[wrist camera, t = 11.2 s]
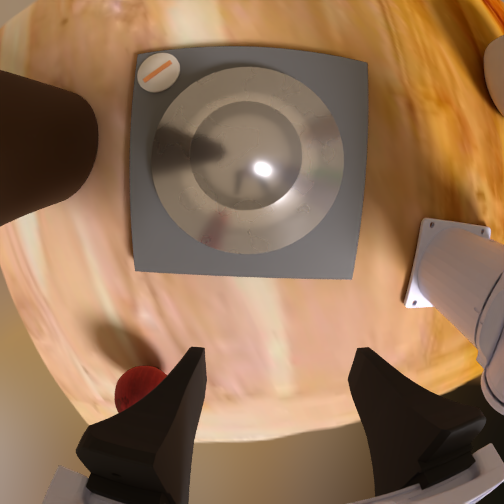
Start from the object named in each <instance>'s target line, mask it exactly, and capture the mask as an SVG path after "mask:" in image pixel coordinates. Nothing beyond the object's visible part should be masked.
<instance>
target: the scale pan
mask: <svg viewBox="0 0 504 504" xmlns="http://www.w3.org/2000/svg"><path fill="white" fill-rule="evenodd" d="M240 101H253V102H259V103H263V104H266V105H268V106H271V107H273V108H274V109H276V110H278V111H279V112H281V113H282V114H283V115H284V116H285V117H286V118H287V119H288V120H289V121H290V122H291V123H292V125H293V126H294V128H295V130H296V131H297V134H298V136H299V138H300V142H301V146H302V164H301V169H300V173H299V175H298V177H297V180H296V181H295V183H294V185H293V186H292V188H291V189H290V190H289V191H288V192H287V193H286V194H285V195H284V196H283V197H282V198H281V199H279V200H278V201H276V202H275V203H273V204H271V205H269V206H266V207H264V208H260V209H255V210H236V209H232V208H228V207H225V206H223V205H221V204H219V203H217V202H215V201H214V200H212V199H211V198H210V197H209V196H207V195H206V194H205V193H204V192H203V190H202V189H201V188H200V187H199V185H198V183H197V182H196V180H195V178H194V175H193V172H192V169H191V164H190V147H191V143H192V139H193V137H194V134H195V132H196V130H197V128H198V127H199V125H200V124H201V123H202V121H203V120H204V119H205V118H206V117H207V116H208V115H209V114H211V113H212V112H213V111H215V110H216V109H218V108H220V107H222V106H224V105H227V104H230V103H234V102H240ZM151 166H152V175H153V181H154V185H155V188H156V191H157V194H158V196H159V199H160V201H161V203H162V205H163V207H164V208H165V210H166V211H167V213H168V214H169V216H170V217H171V218H172V219H173V221H174V222H175V223H176V224H177V225H178V226H179V227H180V228H181V229H182V230H183V231H185V232H186V233H187V234H188V235H190V236H191V237H193V238H194V239H195V240H197V241H199V242H201V243H203V244H205V245H207V246H209V247H212V248H214V249H217V250H220V251H225V252H229V253H236V254H259V253H266V252H270V251H274V250H278V249H281V248H283V247H285V246H288V245H290V244H292V243H294V242H296V241H297V240H299V239H301V238H302V237H304V236H305V235H306V234H308V233H309V232H310V231H312V230H313V229H314V228H315V227H316V226H317V225H318V224H319V223H320V222H321V220H322V219H323V218H324V217H325V215H326V214H327V213H328V211H329V210H330V208H331V206H332V204H333V203H334V201H335V198H336V196H337V194H338V191H339V188H340V185H341V181H342V176H343V169H344V152H343V145H342V140H341V136H340V132H339V129H338V127H337V125H336V122H335V120H334V118H333V116H332V114H331V113H330V111H329V110H328V108H327V107H326V105H325V104H324V103H323V102H322V100H321V99H320V98H319V97H318V96H317V95H316V94H315V93H314V92H313V91H312V90H311V89H309V88H308V87H307V86H305V85H304V84H303V83H301V82H300V81H298V80H296V79H294V78H292V77H290V76H288V75H286V74H283V73H281V72H278V71H274V70H270V69H266V68H259V67H236V68H230V69H225V70H221V71H218V72H215V73H212V74H210V75H208V76H205V77H203V78H201V79H200V80H198V81H196V82H195V83H193V84H191V85H190V86H189V87H188V88H186V89H185V90H184V91H183V92H181V93H180V94H179V96H178V97H177V98H176V99H175V100H174V101H173V102H172V103H171V105H170V106H169V107H168V109H167V110H166V112H165V113H164V115H163V117H162V119H161V121H160V123H159V125H158V128H157V131H156V133H155V137H154V141H153V146H152V155H151Z"/></svg>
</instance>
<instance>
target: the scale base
mask: <svg viewBox="0 0 504 504" xmlns="http://www.w3.org/2000/svg"><path fill="white" fill-rule="evenodd" d="M236 67H259V68H266V69H270V70H274V71H278V72H281V73H283V74H286V75H288V76H290V77H292V78H294V79H296V80H298V81H300V82H301V83H303V84H304V85H305V86H307V87H308V88H309V89H311V90H312V91H313V92H314V93H315V94H316V95H317V96H318V97H319V98H320V99H321V100H322V102H323V103H324V104H325V105H326V107H327V108H328V110H329V111H330V113H331V114H332V116H333V118H334V120H335V122H336V125H337V127H338V129H339V132H340V136H341V140H342V145H343V152H344V169H343V176H342V181H341V185H340V188H339V191H338V194H337V196H336V198H335V201H334V203H333V204H332V206H331V208H330V210H329V211H328V213H327V214H326V215H325V217H324V218H323V219H322V220H321V222H320V223H319V224H318V225H317V226H316V227H315V228H314V229H313V230H312V231H310V232H309V233H308V234H306V235H305V236H304V237H302V238H301V239H299V240H297V241H296V242H294V243H292V244H290V245H288V246H285V247H283V248H281V249H278V250H274V251H270V252H266V253H259V254H236V253H229V252H225V251H220V250H217V249H214V248H212V247H209V246H207V245H205V244H203V243H201V242H199V241H197V240H195V239H194V238H193V237H191V236H190V235H188V234H187V233H186V232H185V231H183V230H182V229H181V228H180V227H179V226H178V225H177V224H176V223H175V222H174V221H173V219H172V218H171V217H170V216H169V214H168V213H167V211H166V210H165V208H164V207H163V205H162V203H161V201H160V199H159V196H158V194H157V191H156V188H155V185H154V181H153V175H152V166H151V155H152V146H153V141H154V137H155V133H156V131H157V128H158V125H159V123H160V121H161V119H162V117H163V115H164V113H165V112H166V110H167V109H168V107H169V106H170V105H171V103H172V102H173V101H174V100H175V99H176V98H177V97H178V96H179V94H180V93H181V92H183V91H184V90H185V89H186V88H188V87H189V86H190V85H191V84H193V83H195V82H196V81H198V80H200V79H201V78H203V77H205V76H208V75H210V74H212V73H215V72H218V71H221V70H225V69H230V68H236ZM367 143H368V64H367V63H366V62H362V61H358V60H353V59H349V58H344V57H339V56H334V55H328V54H322V53H316V52H309V51H301V50H292V49H282V48H269V47H247V46H217V47H196V48H183V49H172V50H164V51H156V52H149V53H143V54H138V58H137V65H136V73H135V81H134V91H133V101H132V115H131V132H130V211H131V229H132V243H133V254H134V265H135V271H141V272H157V273H174V274H193V275H214V276H237V277H265V278H299V279H352V276H353V271H354V265H355V259H356V252H357V246H358V239H359V232H360V224H361V216H362V207H363V198H364V187H365V175H366V161H367Z"/></svg>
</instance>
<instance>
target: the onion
mask: <svg viewBox="0 0 504 504" xmlns="http://www.w3.org/2000/svg"><path fill="white" fill-rule="evenodd" d="M166 376H167V375H166V374H165V373H164V372H163V371H161V370H159V369H157V368H156V367H152V366H138V367H134V368H132V369H130V370H128V371H127V372H125V373H124V374H123V375H122V376H121V377H120V379H119V380H118V382H117V385H116V389H115V405H116V408H117V411H118V412H119V413H120V412H122V411H124V410H125V409H127V408H129V407H130V406H132V405H133V404H135V403H136V402H138V401H139V400H141V399H142V398H143V397H145V396H146V395H147V394H148V393H150V392H151V391H152V390H153V389H154V388H155V387H156V386H157V385H158V384H159V383H160V382H161V381H162V380H163V379H164V378H165V377H166Z"/></svg>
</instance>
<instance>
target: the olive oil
mask: <svg viewBox="0 0 504 504" xmlns="http://www.w3.org/2000/svg"><path fill="white" fill-rule="evenodd" d="M97 146H98V128H97V122H96V118H95V115H94V112H93V110H92V108H91V107H90V105H89V104H88V103H87V101H86V100H84V99H83V98H82V97H81V96H79V95H77V94H75V93H72V92H69V91H66V90H63V89H60V88H57V87H54V86H51V85H47V84H44V83H41V82H38V81H35V80H32V79H28V78H25V77H22V76H19V75H16V74H12V73H9V72H5V71H2V70H0V226H2V225H4V224H6V223H8V222H11V221H13V220H15V219H17V218H19V217H22V216H24V215H27V214H29V213H32V212H34V211H37V210H39V209H42V208H45V207H47V206H50V205H53V204H56V203H58V202H61V201H63V200H66V199H68V198H69V197H71V196H72V195H73V194H75V193H76V192H77V191H78V190H79V189H80V188H81V186H82V185H83V184H84V182H85V181H86V179H87V178H88V176H89V174H90V172H91V169H92V167H93V164H94V161H95V157H96V153H97Z"/></svg>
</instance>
